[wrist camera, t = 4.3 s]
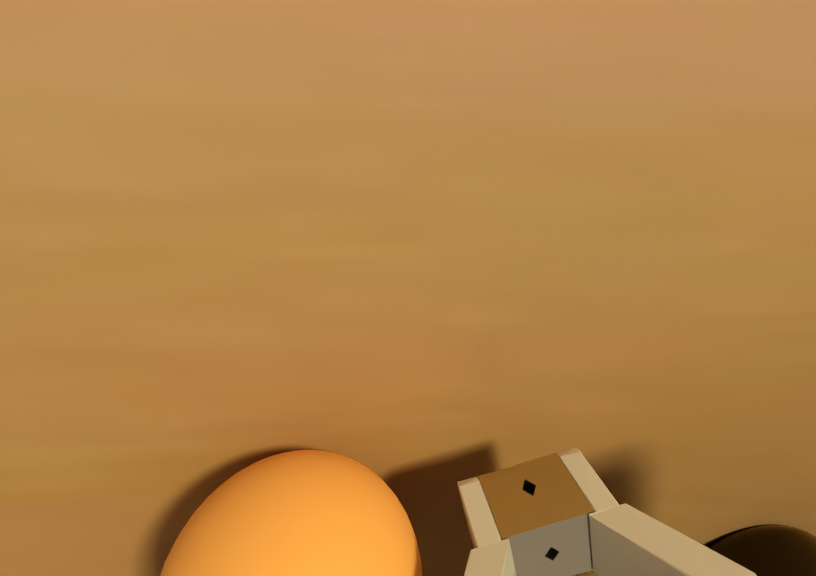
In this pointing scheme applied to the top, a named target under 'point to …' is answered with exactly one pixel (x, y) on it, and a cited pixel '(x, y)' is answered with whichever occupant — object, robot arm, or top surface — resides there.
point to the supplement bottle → (771, 550)
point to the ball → (298, 523)
